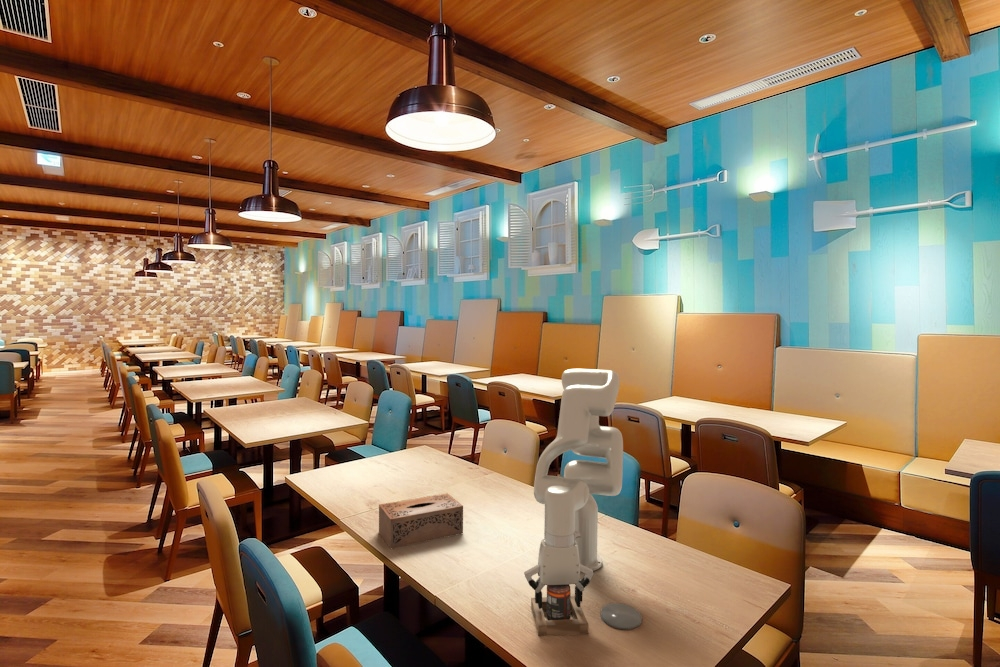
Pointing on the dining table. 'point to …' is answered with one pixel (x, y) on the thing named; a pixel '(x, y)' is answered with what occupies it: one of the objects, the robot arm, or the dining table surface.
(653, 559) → the dining table surface
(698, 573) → the dining table surface
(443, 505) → the tissue box cover
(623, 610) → the coaster
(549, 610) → the supplement bottle
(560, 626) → the pocket frame
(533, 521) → the dining table surface
